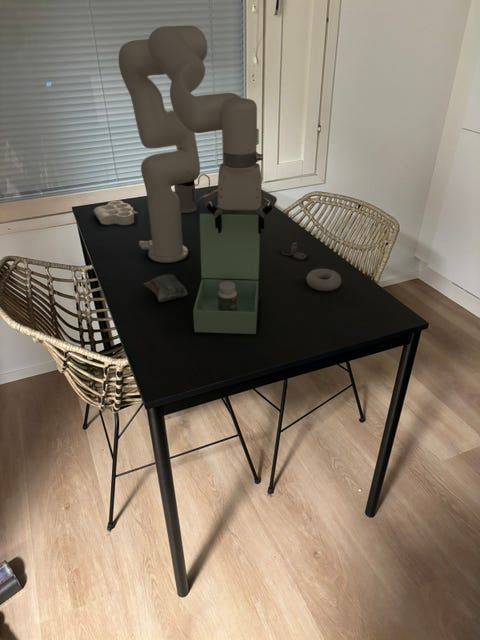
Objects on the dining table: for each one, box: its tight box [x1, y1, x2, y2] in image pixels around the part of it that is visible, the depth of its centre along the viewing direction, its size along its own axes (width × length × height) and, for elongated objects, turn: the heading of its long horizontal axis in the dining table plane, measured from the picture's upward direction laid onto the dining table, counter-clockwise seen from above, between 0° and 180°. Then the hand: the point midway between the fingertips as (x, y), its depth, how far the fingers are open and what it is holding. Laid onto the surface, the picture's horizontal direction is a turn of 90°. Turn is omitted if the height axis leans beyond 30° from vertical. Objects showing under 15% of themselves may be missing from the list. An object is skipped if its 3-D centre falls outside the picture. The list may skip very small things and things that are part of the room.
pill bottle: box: [218, 281, 237, 311], centre depth 126 cm, size 5×5×8 cm
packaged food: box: [143, 273, 189, 303], centre depth 136 cm, size 9×12×5 cm
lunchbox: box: [192, 278, 260, 335], centre depth 127 cm, size 16×15×6 cm
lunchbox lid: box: [199, 213, 261, 281], centre depth 129 cm, size 17×15×5 cm
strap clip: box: [280, 242, 308, 261], centre depth 157 cm, size 8×3×4 cm, turn 51°
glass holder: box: [173, 173, 211, 214], centre depth 189 cm, size 9×14×15 cm, turn 82°
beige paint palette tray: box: [93, 200, 139, 226], centre depth 185 cm, size 3×18×15 cm
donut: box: [305, 268, 342, 292], centre depth 141 cm, size 10×4×10 cm
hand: (239, 231), depth 120 cm, fingers open, 9 cm apart
